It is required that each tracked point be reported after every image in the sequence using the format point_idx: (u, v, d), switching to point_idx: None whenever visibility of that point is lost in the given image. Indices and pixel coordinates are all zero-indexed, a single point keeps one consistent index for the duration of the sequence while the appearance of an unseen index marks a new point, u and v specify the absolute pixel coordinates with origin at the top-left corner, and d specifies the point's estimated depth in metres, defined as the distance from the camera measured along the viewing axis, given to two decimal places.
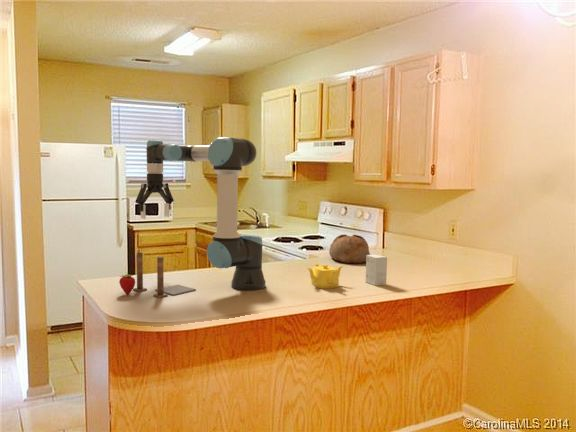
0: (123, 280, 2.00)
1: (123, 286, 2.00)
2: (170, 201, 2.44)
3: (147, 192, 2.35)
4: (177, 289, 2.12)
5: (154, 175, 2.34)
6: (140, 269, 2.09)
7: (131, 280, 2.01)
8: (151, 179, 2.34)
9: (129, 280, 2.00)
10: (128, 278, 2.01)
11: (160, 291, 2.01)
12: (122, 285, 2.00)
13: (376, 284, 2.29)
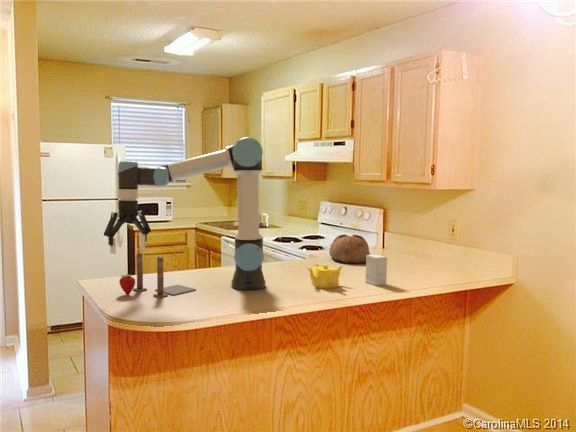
0: (123, 280, 2.00)
1: (123, 286, 2.00)
2: (147, 232, 2.08)
3: (118, 222, 1.99)
4: (177, 289, 2.12)
5: (126, 203, 1.98)
6: (140, 269, 2.09)
7: (131, 280, 2.01)
8: (123, 208, 1.98)
9: (129, 280, 2.00)
10: (128, 278, 2.01)
11: (160, 291, 2.01)
12: (122, 285, 2.00)
13: (376, 284, 2.29)
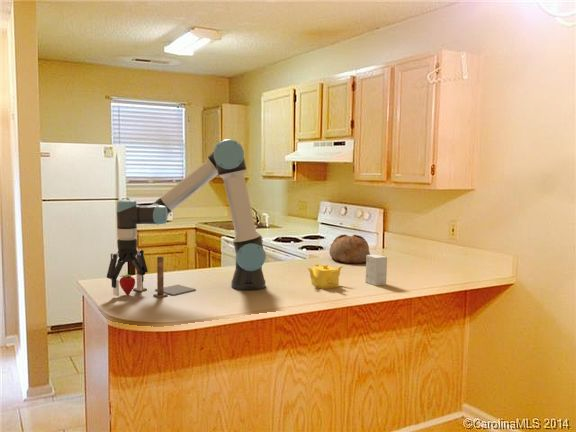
0: (123, 280, 2.00)
1: (123, 286, 2.00)
2: (143, 272, 2.07)
3: (119, 263, 1.99)
4: (177, 289, 2.12)
5: (126, 242, 1.97)
6: None
7: (131, 280, 2.01)
8: (122, 247, 1.98)
9: (129, 280, 2.00)
10: (128, 278, 2.01)
11: (160, 291, 2.01)
12: (122, 285, 2.00)
13: (376, 284, 2.29)
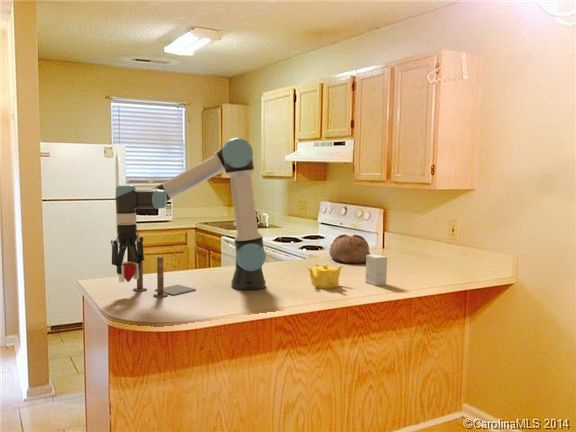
0: None
1: (124, 273, 2.00)
2: (140, 261, 2.05)
3: (121, 249, 1.99)
4: (177, 289, 2.12)
5: (125, 227, 1.97)
6: (140, 269, 2.09)
7: (132, 267, 2.00)
8: (122, 232, 1.97)
9: (130, 267, 2.00)
10: (129, 265, 2.00)
11: (160, 291, 2.01)
12: None
13: (376, 284, 2.29)
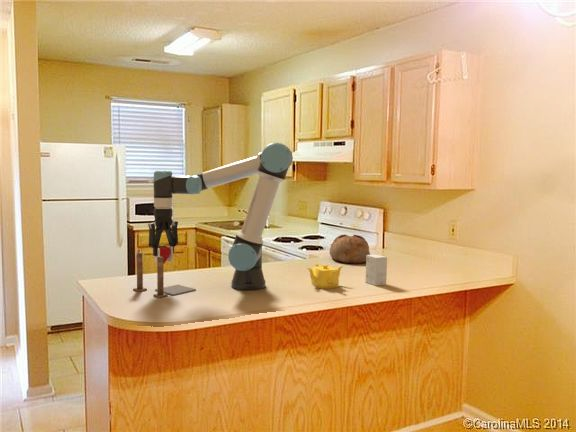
0: None
1: None
2: (174, 244, 2.13)
3: (157, 232, 2.07)
4: (177, 289, 2.12)
5: (162, 211, 2.05)
6: (140, 269, 2.09)
7: (167, 249, 2.08)
8: (159, 216, 2.05)
9: (165, 249, 2.07)
10: (164, 247, 2.08)
11: (160, 291, 2.01)
12: None
13: (376, 284, 2.29)
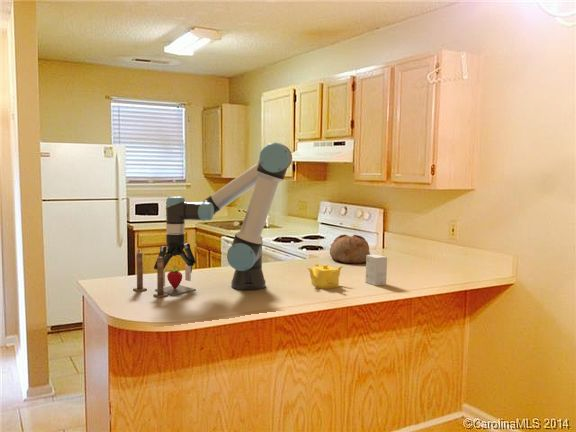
0: (171, 275, 2.09)
1: (171, 280, 2.09)
2: (192, 263, 2.17)
3: (167, 256, 2.07)
4: (177, 289, 2.12)
5: (175, 237, 2.06)
6: (140, 269, 2.09)
7: (179, 275, 2.09)
8: (171, 242, 2.07)
9: (177, 275, 2.09)
10: (176, 273, 2.10)
11: (160, 291, 2.01)
12: (170, 279, 2.09)
13: (376, 284, 2.29)
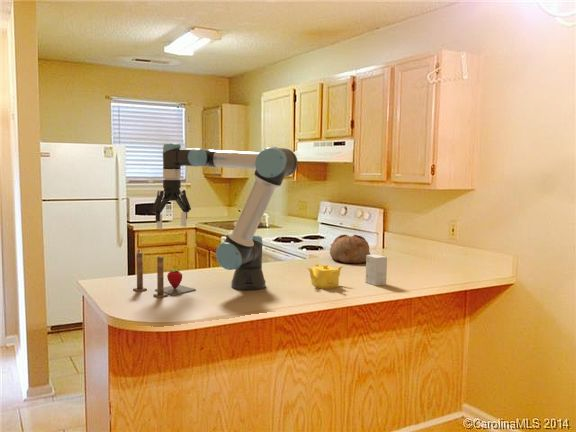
0: (171, 275, 2.09)
1: (171, 280, 2.09)
2: (187, 210, 2.25)
3: (164, 200, 2.15)
4: (177, 289, 2.12)
5: (172, 182, 2.14)
6: (140, 269, 2.09)
7: (179, 275, 2.09)
8: (168, 186, 2.14)
9: (177, 275, 2.09)
10: (176, 273, 2.10)
11: (160, 291, 2.01)
12: (170, 279, 2.09)
13: (376, 284, 2.29)
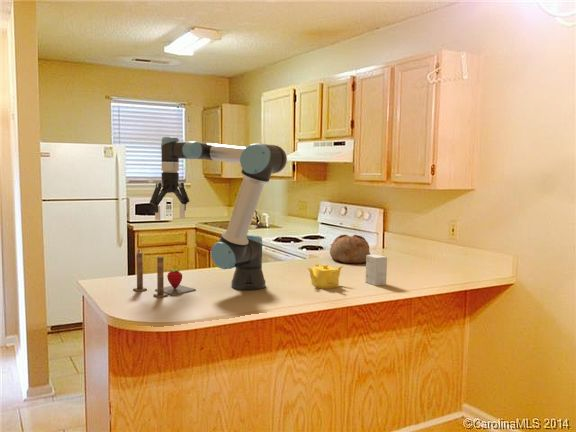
0: (171, 275, 2.09)
1: (171, 280, 2.09)
2: (186, 202, 2.30)
3: (162, 192, 2.21)
4: (177, 289, 2.12)
5: (169, 174, 2.20)
6: (140, 269, 2.09)
7: (179, 275, 2.09)
8: (166, 179, 2.20)
9: (177, 275, 2.09)
10: (176, 273, 2.10)
11: (160, 291, 2.01)
12: (170, 279, 2.09)
13: (376, 284, 2.29)
